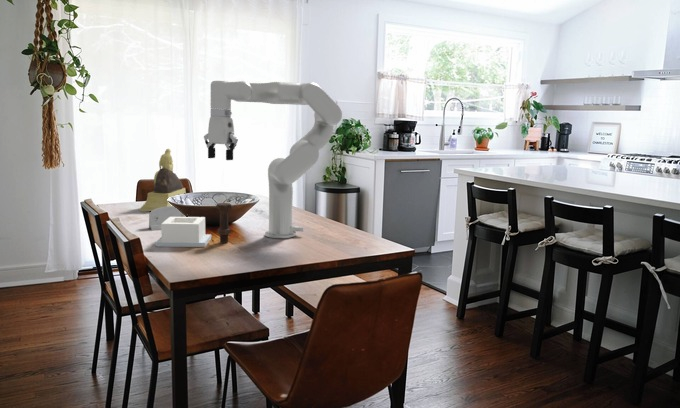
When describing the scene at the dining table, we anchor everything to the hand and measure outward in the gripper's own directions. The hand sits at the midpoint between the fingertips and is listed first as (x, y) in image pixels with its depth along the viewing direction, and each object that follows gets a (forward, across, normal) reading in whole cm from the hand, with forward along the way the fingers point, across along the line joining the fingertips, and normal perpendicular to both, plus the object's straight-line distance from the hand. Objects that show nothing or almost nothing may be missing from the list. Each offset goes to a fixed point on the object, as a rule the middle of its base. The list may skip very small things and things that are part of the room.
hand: (220, 159), depth 208 cm
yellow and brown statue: (+32, +72, -31) cm, 84 cm away
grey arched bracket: (+32, +32, -1) cm, 45 cm away
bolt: (+32, -6, +4) cm, 32 cm away
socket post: (+32, +6, +13) cm, 35 cm away
